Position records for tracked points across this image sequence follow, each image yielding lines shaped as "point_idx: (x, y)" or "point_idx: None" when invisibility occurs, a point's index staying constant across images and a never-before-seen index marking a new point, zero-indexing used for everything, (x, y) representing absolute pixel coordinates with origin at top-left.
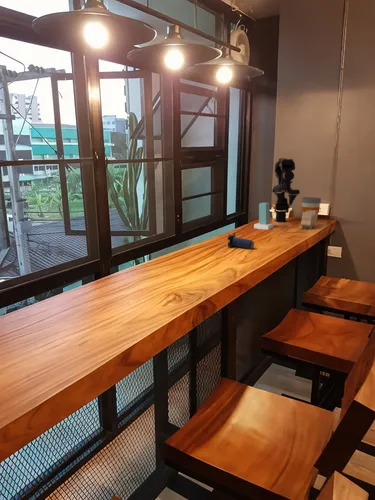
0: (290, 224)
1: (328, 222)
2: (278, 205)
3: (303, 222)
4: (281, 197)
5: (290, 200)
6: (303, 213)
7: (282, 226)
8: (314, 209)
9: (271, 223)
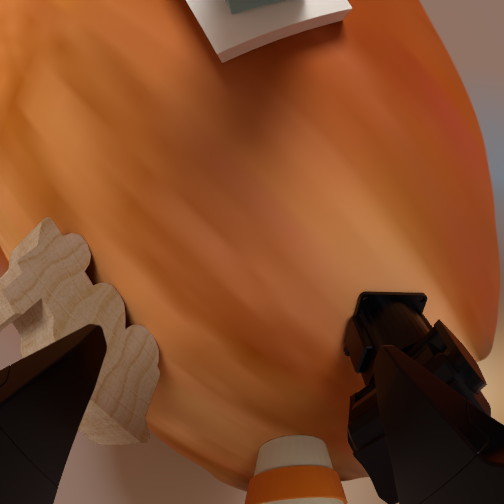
0: (248, 294)
1: (190, 453)
2: (437, 376)
3: (30, 238)
4: (409, 478)
5: (8, 367)
6: (4, 288)
7: (211, 165)
8: (249, 497)
9: (231, 40)
